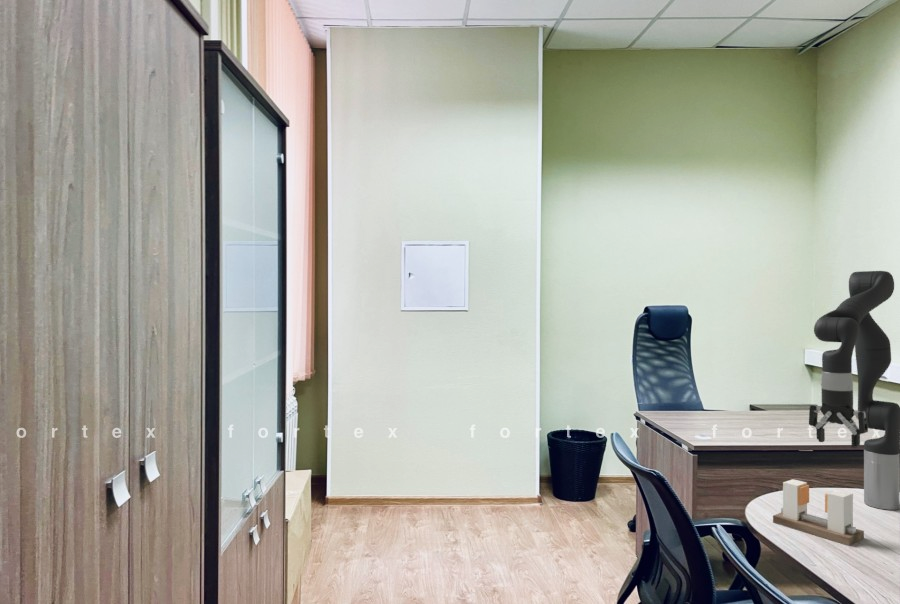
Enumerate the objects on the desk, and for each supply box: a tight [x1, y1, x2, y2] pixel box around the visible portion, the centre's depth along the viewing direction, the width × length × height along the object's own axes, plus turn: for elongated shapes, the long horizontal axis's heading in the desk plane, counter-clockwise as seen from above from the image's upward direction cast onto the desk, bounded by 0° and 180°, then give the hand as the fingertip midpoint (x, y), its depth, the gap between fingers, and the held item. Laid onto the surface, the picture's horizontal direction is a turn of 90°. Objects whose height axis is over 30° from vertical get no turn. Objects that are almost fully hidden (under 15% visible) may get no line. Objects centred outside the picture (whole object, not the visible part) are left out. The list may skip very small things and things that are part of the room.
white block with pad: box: [824, 489, 854, 534], centre depth 164 cm, size 6×5×10 cm
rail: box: [772, 478, 865, 547], centre depth 169 cm, size 9×20×12 cm, turn 34°
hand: (837, 444), depth 169 cm, fingers open, 8 cm apart
